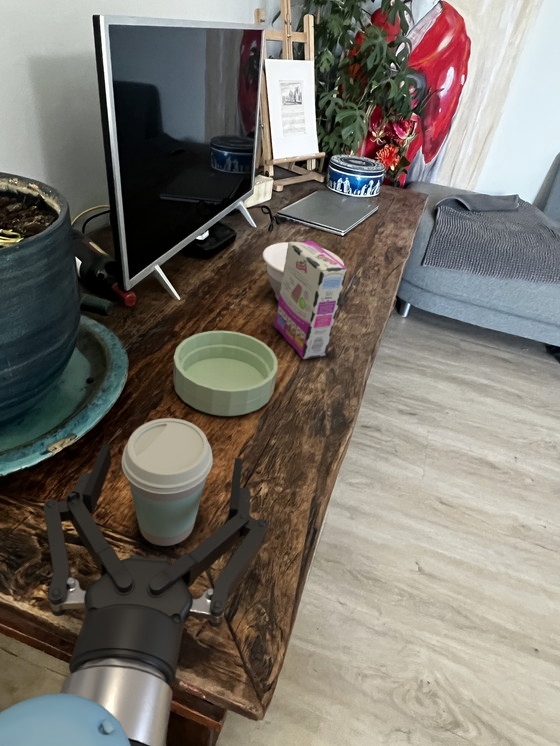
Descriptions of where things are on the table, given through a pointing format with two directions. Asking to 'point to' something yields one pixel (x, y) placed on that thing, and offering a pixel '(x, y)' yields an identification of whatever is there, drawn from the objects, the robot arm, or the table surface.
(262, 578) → the table surface
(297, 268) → the candy bar box
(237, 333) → the celadon bowl
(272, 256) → the bowl
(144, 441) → the coffee cup
